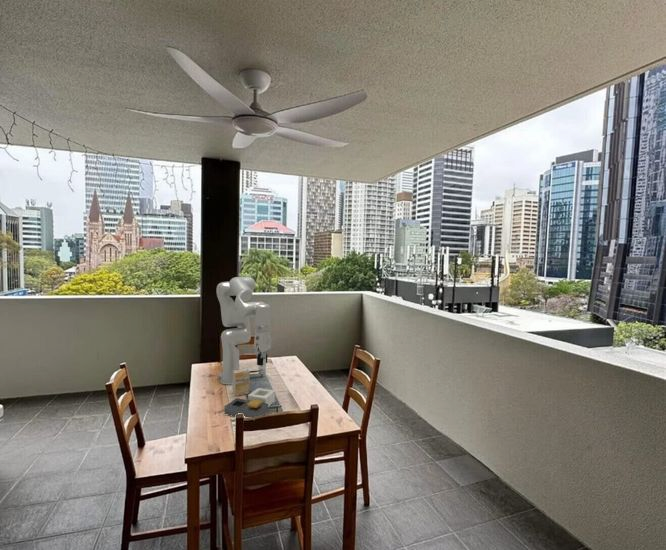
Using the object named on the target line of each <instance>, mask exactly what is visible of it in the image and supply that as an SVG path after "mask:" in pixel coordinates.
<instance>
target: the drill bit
mask: <svg viewBox="0 0 666 550" xmlns="http://www.w3.org/2000/svg"><path fill="white" fill-rule="evenodd" d="M259 351H260V350H259ZM260 355H261V353H260ZM262 358H263V366H260V365H258V375H259V376H264V375H266V374H267V363H266V351H265V352H263V357H262Z"/></svg>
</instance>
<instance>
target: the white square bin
mask: <svg viewBox="0 0 666 550" xmlns="http://www.w3.org/2000/svg"><path fill="white" fill-rule="evenodd" d="M253 399H254V400H260V401H262V403H267V404H268V407H269V406H270V405H271V404H272V403H273V402H274V403H275V402H276V390H274V389H267V388H260V387H257V388H256V389H255V390H253V391H252V392H251V393H249V394H247V400H250V401H252V400H253ZM274 403H273V404H274ZM273 404H272V405H273ZM272 405H271V406H272ZM271 406H270V407H271ZM270 407H269V408H270Z"/></svg>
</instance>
